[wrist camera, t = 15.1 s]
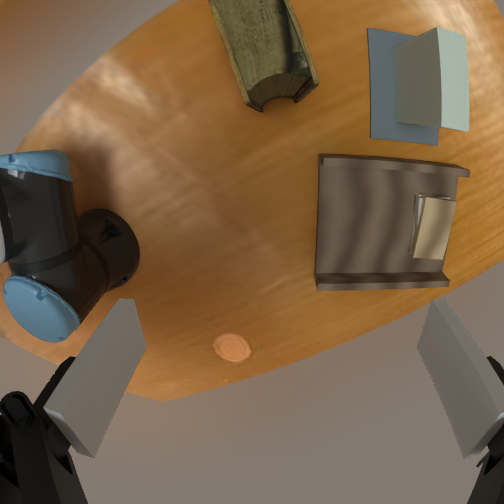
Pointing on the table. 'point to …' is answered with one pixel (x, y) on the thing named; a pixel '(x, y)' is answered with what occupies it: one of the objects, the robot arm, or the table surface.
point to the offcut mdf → (418, 209)
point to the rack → (375, 221)
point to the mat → (390, 92)
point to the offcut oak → (433, 228)
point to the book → (265, 49)
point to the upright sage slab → (432, 80)
